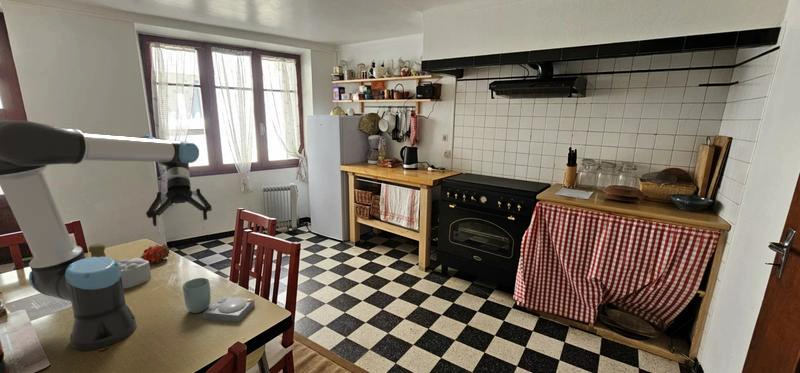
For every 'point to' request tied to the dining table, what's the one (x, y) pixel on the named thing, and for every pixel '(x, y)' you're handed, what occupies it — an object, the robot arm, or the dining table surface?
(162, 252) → the dragon fruit
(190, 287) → the cup
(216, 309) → the soap dish with soap
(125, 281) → the white bumpy block
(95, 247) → the cork
